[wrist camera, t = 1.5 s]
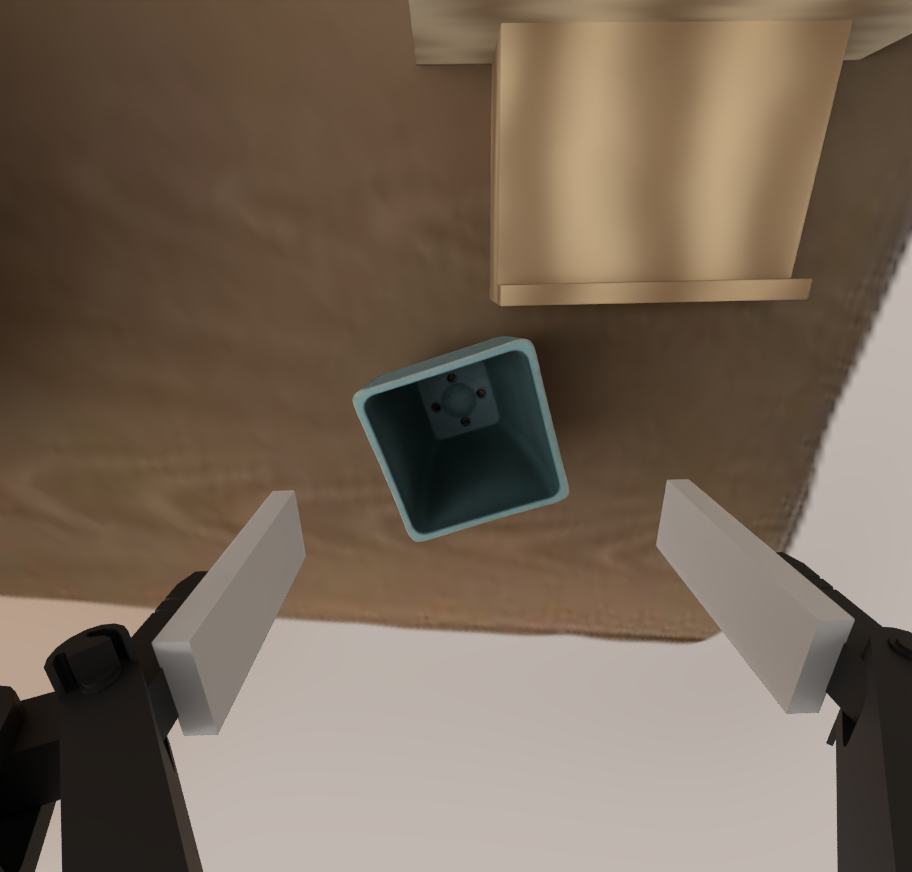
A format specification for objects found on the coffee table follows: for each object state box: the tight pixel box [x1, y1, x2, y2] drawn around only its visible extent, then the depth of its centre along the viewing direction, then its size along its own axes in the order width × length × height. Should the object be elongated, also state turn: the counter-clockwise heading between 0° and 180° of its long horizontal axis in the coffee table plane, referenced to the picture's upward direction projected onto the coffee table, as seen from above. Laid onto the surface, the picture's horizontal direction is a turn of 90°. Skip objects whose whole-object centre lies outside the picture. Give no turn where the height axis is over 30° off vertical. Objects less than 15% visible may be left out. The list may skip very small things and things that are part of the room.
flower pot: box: [353, 336, 569, 542], centre depth 25 cm, size 9×9×9 cm
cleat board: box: [409, 0, 912, 306], centre depth 15 cm, size 24×14×22 cm, turn 91°
